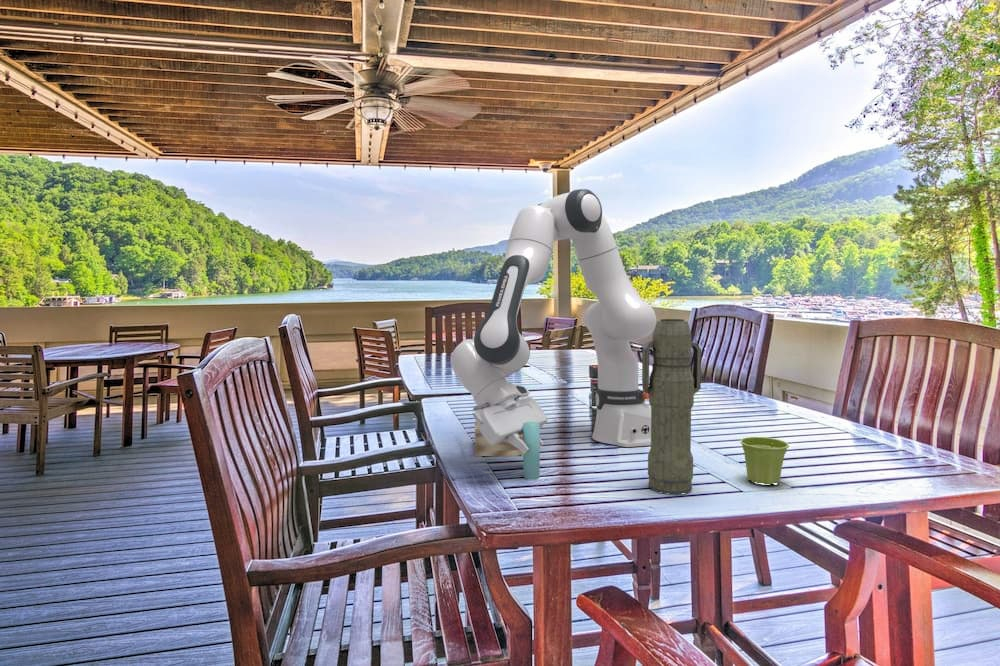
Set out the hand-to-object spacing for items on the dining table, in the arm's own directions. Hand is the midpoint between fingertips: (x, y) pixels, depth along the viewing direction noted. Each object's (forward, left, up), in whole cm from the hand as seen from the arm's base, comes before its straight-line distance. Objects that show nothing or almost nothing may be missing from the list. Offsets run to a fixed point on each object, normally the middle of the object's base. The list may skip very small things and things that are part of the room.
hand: (533, 449), depth 124 cm
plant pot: (-49, +7, -7) cm, 49 cm away
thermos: (-28, +9, -7) cm, 30 cm away
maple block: (+5, -24, -6) cm, 26 cm away
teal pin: (0, 0, -6) cm, 6 cm away
